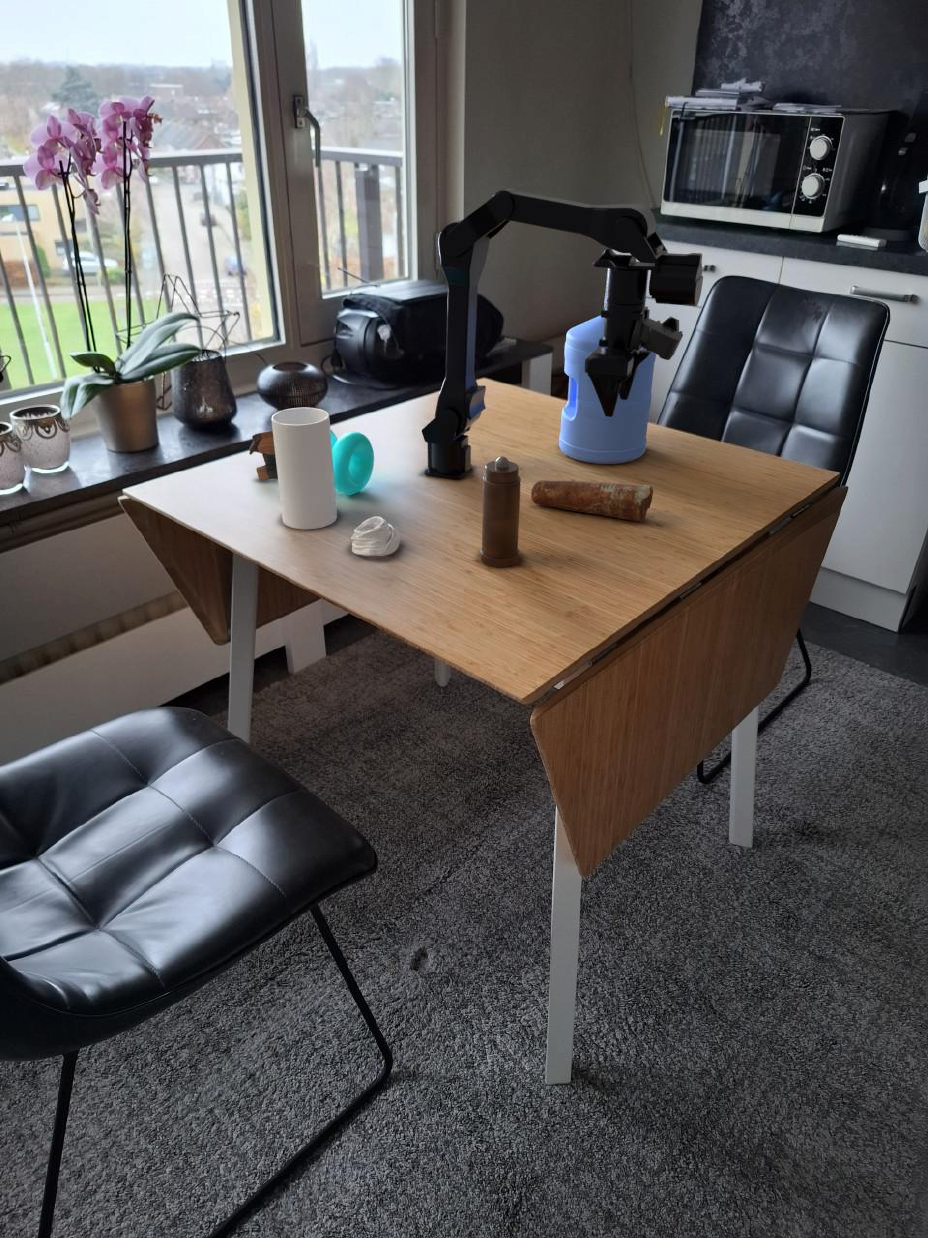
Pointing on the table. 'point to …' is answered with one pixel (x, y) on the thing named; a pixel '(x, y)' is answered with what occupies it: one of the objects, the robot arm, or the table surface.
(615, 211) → the robot arm
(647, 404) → the water jug
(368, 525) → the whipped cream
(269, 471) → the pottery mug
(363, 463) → the donuts
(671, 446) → the table surface
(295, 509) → the cup
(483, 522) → the pepper mill
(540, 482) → the brown cylinder
